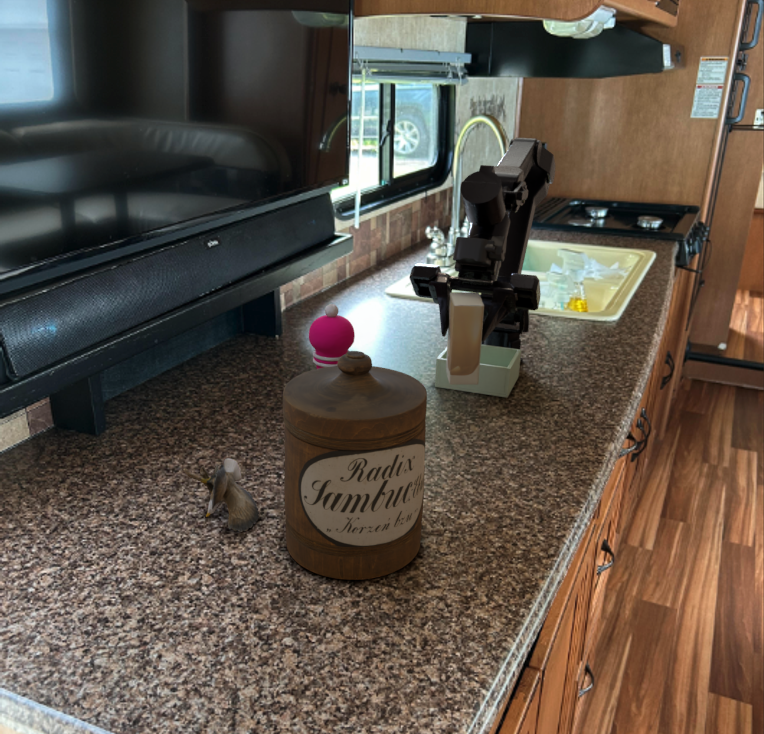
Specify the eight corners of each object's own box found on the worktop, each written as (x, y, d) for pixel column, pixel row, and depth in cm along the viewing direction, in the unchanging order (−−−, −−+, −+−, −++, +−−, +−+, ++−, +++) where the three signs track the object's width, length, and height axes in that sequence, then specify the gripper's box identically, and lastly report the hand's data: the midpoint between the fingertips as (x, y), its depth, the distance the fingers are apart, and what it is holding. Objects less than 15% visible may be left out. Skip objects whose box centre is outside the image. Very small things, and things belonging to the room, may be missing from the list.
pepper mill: (365, 437, 109) (367, 300, 101) (346, 459, 103) (347, 314, 95) (318, 429, 111) (317, 294, 103) (297, 450, 105) (294, 308, 97)
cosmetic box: (445, 369, 117) (448, 291, 112) (473, 369, 117) (478, 291, 112) (449, 385, 111) (453, 304, 106) (479, 385, 111) (484, 304, 106)
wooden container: (312, 595, 76) (309, 388, 67) (269, 521, 88) (262, 338, 79) (444, 563, 82) (458, 368, 73) (387, 497, 94) (392, 324, 85)
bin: (434, 386, 128) (436, 358, 126) (450, 367, 137) (452, 340, 135) (507, 397, 124) (510, 368, 122) (518, 376, 133) (521, 349, 131)
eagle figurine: (169, 501, 90) (199, 522, 82) (192, 444, 90) (225, 460, 83) (224, 518, 94) (258, 539, 87) (246, 463, 95) (282, 480, 88)
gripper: (415, 207, 111) (388, 302, 106) (545, 218, 105) (523, 318, 100) (428, 250, 121) (404, 339, 116) (548, 262, 115) (528, 355, 110)
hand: (462, 337), depth 110 cm, fingers closed on cosmetic box, 5 cm apart
